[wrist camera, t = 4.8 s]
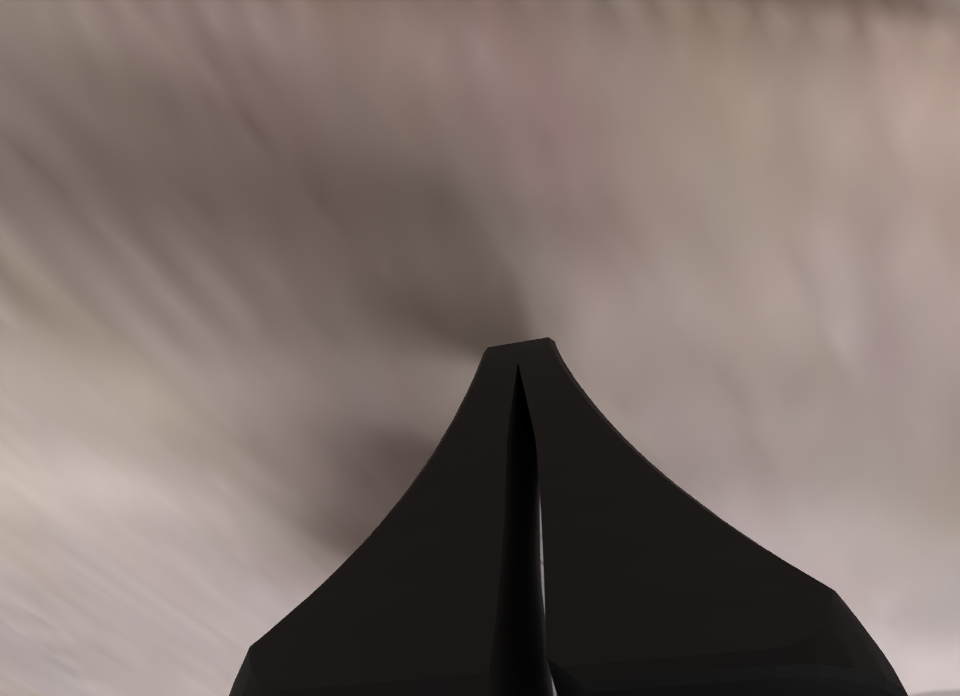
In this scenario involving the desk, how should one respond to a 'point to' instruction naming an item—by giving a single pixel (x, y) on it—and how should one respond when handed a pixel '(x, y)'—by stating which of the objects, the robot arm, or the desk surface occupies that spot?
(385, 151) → the desk surface
